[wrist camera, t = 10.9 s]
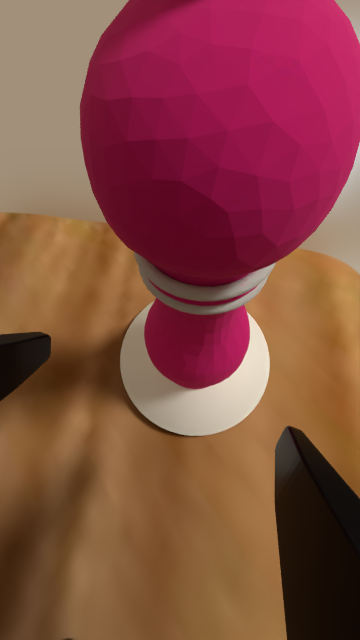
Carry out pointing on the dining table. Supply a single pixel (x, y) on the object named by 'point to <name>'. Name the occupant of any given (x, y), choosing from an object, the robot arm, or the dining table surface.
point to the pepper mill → (217, 156)
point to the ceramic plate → (193, 404)
